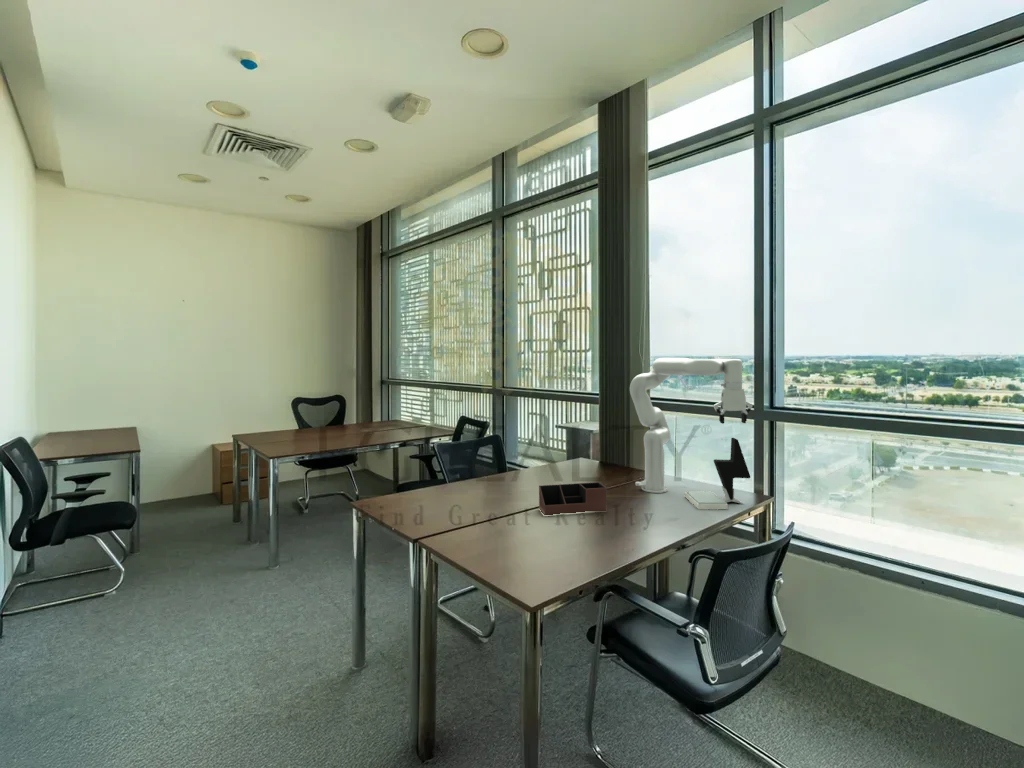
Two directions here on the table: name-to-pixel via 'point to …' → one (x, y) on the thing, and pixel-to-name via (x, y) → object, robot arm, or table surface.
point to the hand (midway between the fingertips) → (732, 423)
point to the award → (732, 471)
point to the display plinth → (705, 500)
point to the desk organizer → (572, 498)
